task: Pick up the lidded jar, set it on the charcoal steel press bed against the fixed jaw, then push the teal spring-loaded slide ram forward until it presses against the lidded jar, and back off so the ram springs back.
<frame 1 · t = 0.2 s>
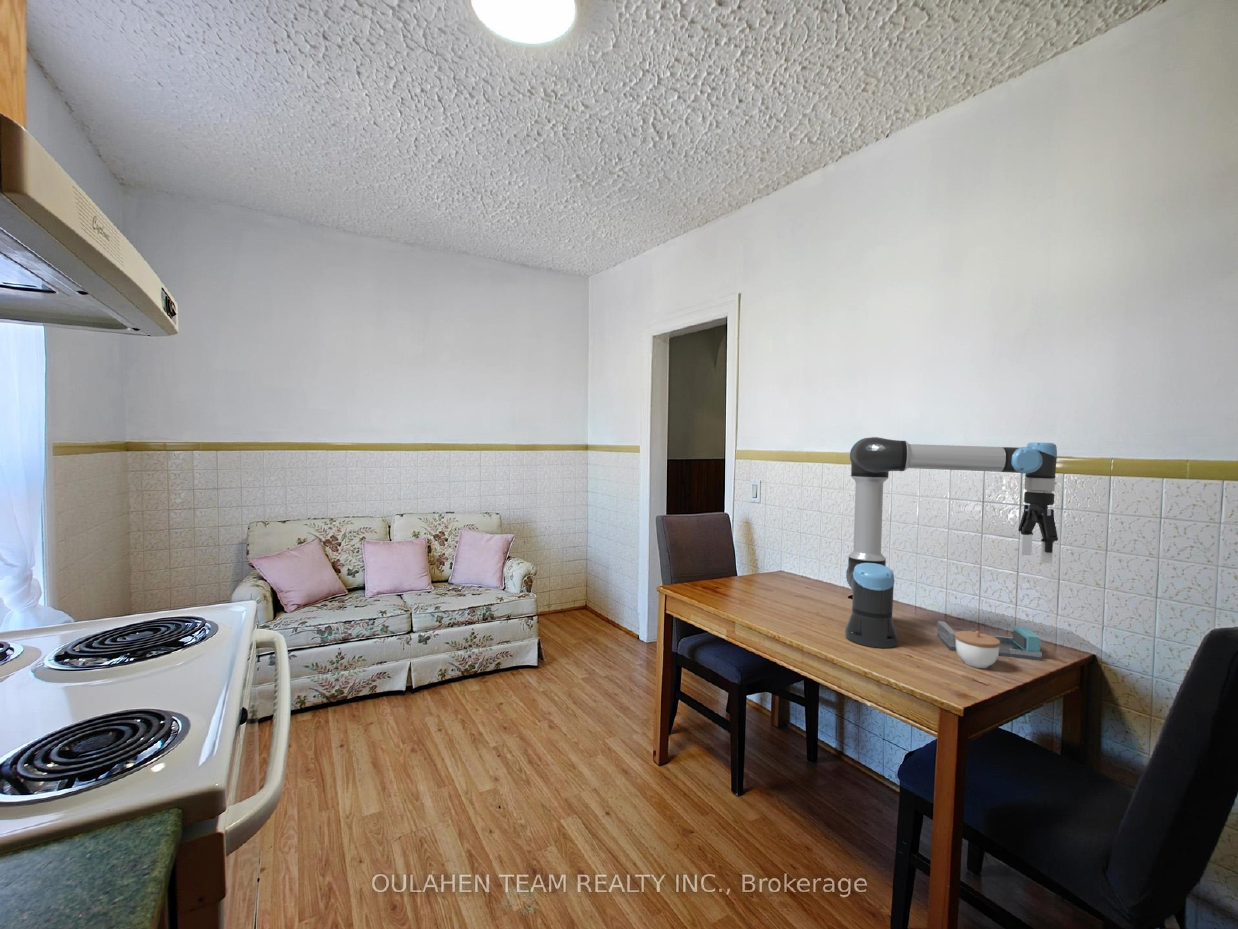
hand: (1035, 558, 171), 28 cm above the table, fingers open, 13 cm apart
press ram: (1025, 639, 166), point 4 cm above the table, slide at 0.0 cm
press bed: (986, 647, 169), on the table
lidded jar: (976, 664, 155), on the table
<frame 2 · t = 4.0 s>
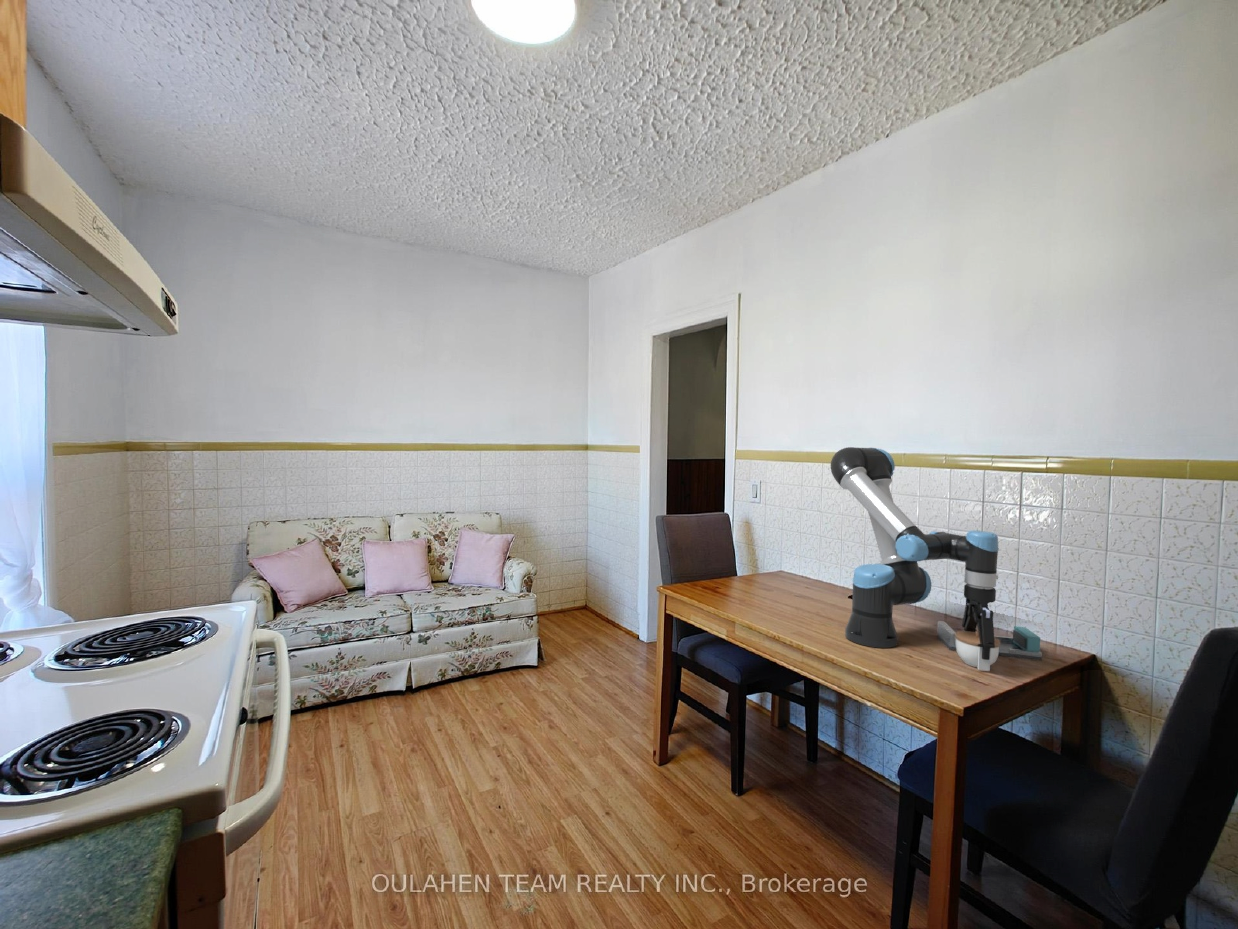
hand: (976, 662, 155), 0 cm above the table, fingers closed on lidded jar, 11 cm apart
lidded jar: (975, 664, 155), on the table, touching gripper
everything else where it was.
when the fingers open (3 cm above the table, at t = 10.6 s): lidded jar drops 1 cm, resting on press bed.
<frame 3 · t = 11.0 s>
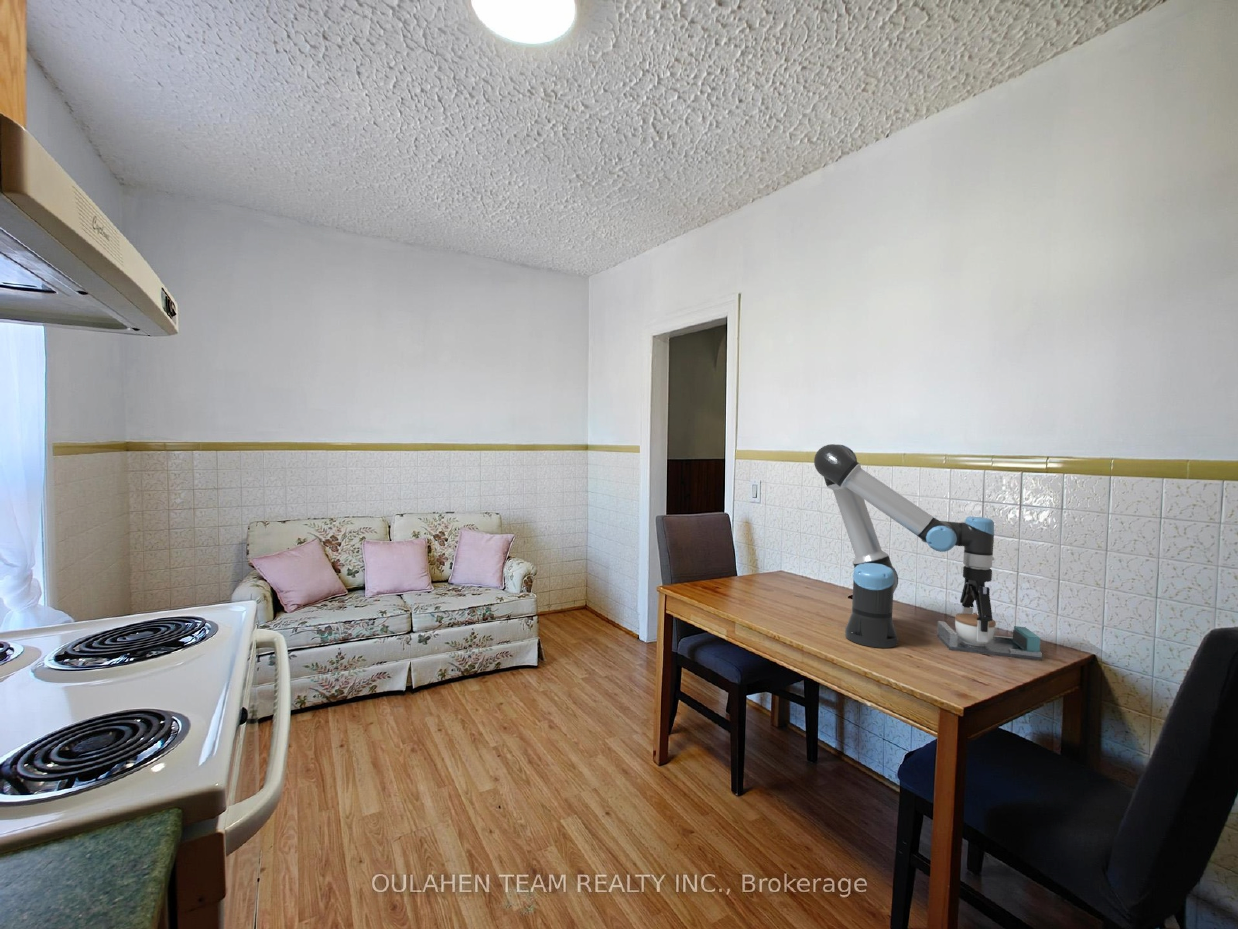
hand: (974, 634, 169), 4 cm above the table, fingers open, 13 cm apart
lidded jar: (973, 643, 170), point 1 cm above the table, touching press bed
everything else where it was.
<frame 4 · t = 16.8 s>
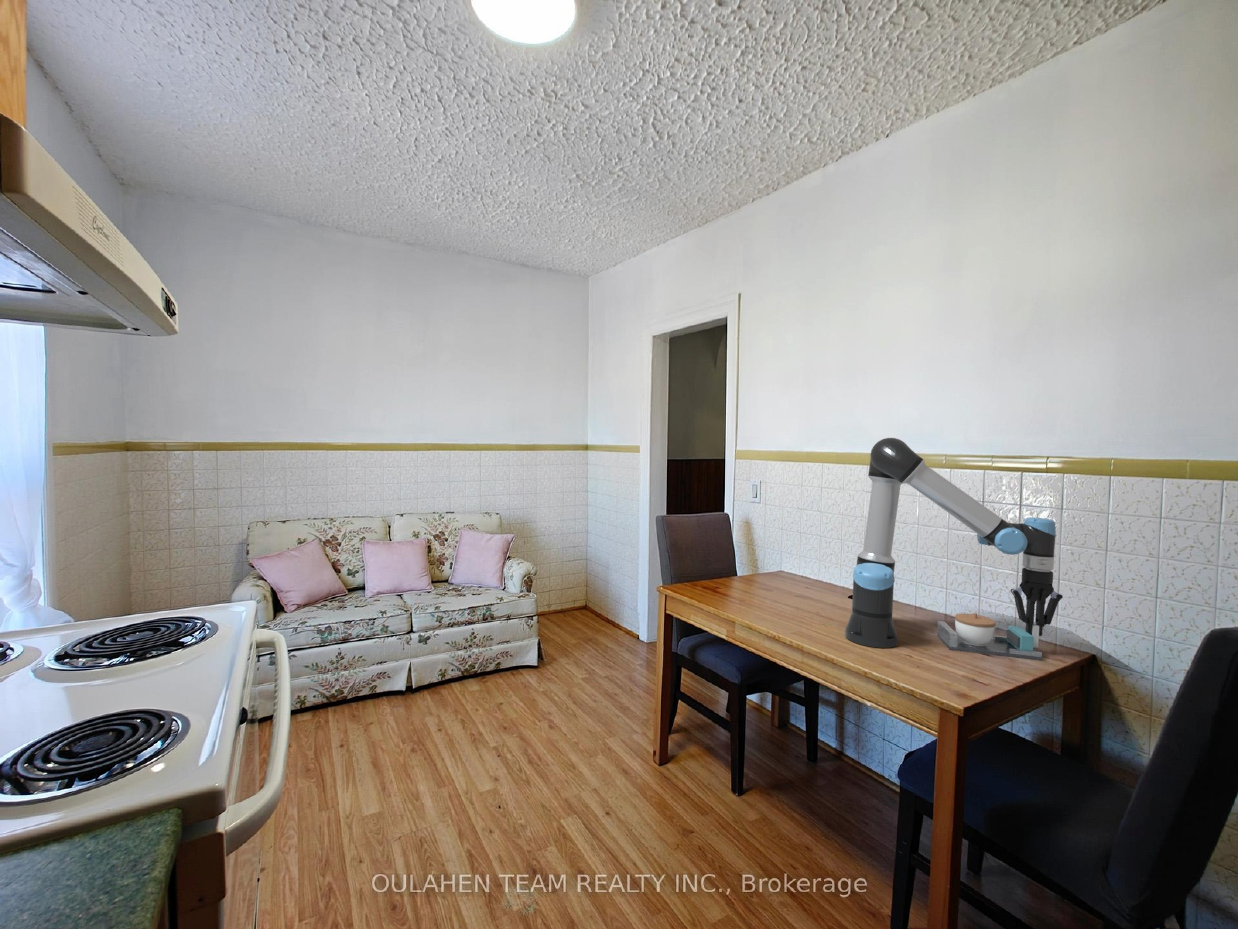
hand: (1033, 645, 165), 2 cm above the table, fingers closed
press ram: (1018, 639, 166), point 4 cm above the table, slide at 1.7 cm, touching gripper
everything else where it was.
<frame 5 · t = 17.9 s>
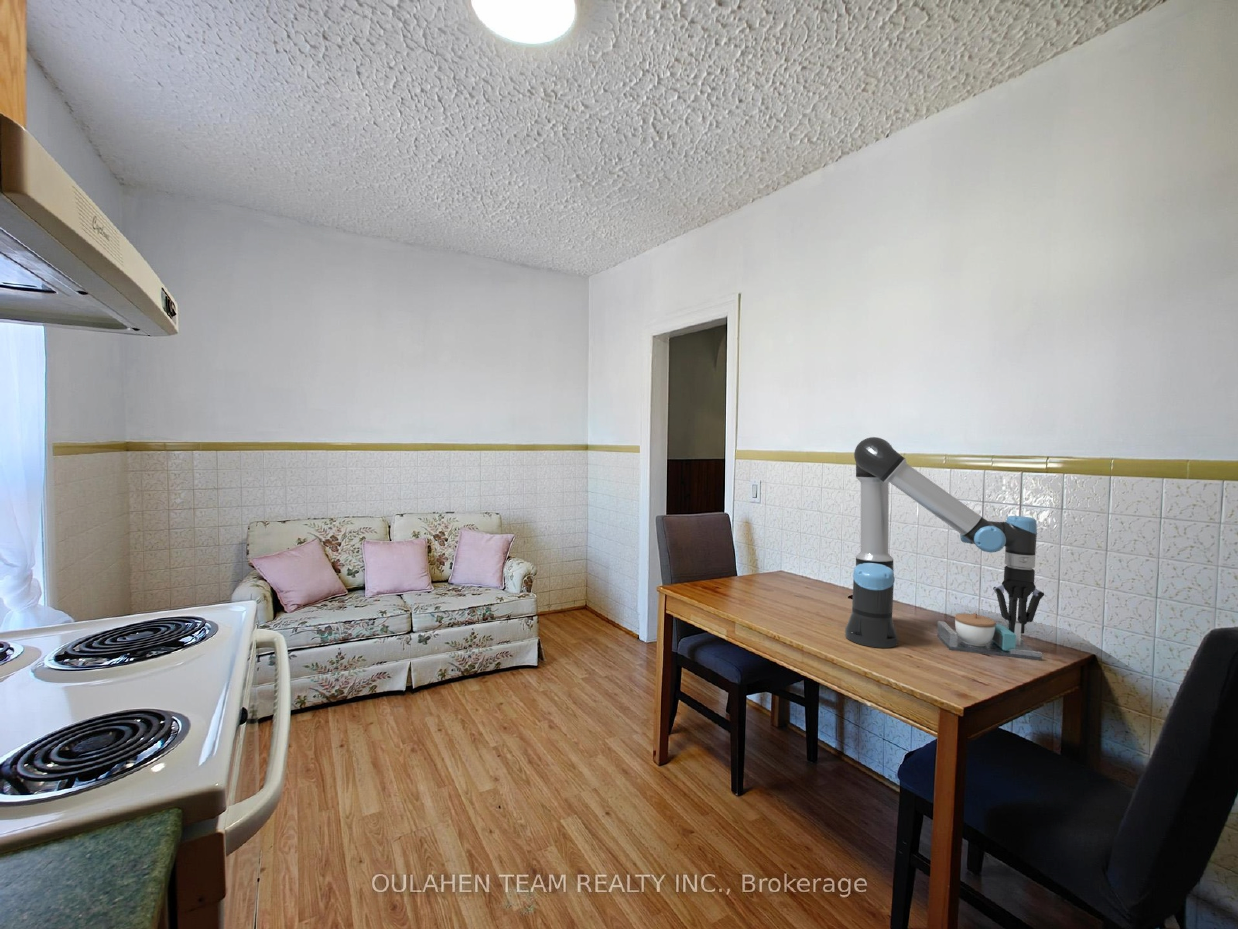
hand: (1015, 643, 166), 2 cm above the table, fingers closed
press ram: (1001, 637, 167), point 4 cm above the table, slide at 6.2 cm, touching gripper
everything else where it was.
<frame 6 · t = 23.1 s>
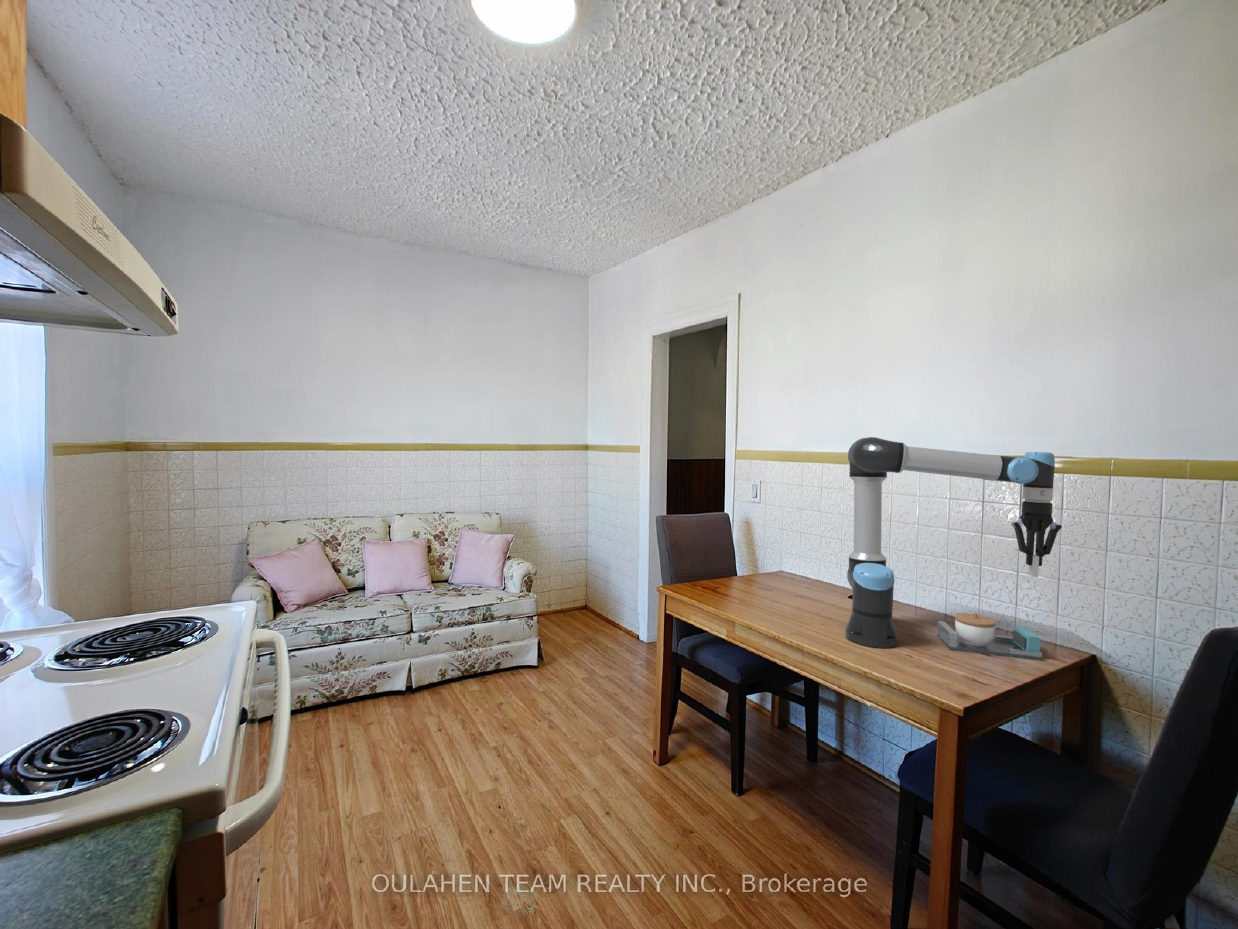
hand: (1033, 575, 170), 22 cm above the table, fingers closed
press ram: (1025, 639, 166), point 4 cm above the table, slide at 0.0 cm
everything else where it was.
at the end: lidded jar 0.5 cm from the target spot on the press bed, point 0.8 cm above the press bed's base; lidded jar tilted 0°; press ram slide at 0.0 cm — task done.
